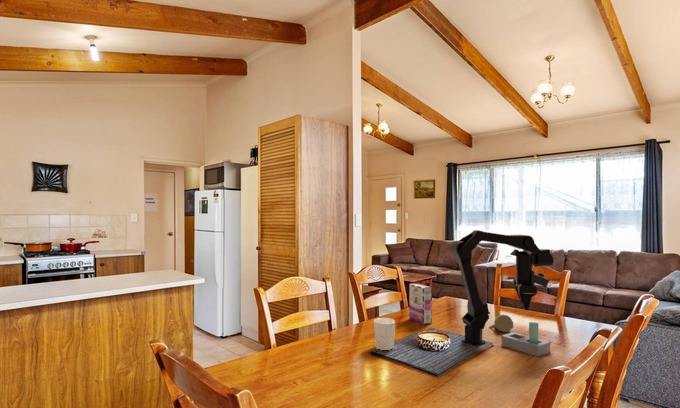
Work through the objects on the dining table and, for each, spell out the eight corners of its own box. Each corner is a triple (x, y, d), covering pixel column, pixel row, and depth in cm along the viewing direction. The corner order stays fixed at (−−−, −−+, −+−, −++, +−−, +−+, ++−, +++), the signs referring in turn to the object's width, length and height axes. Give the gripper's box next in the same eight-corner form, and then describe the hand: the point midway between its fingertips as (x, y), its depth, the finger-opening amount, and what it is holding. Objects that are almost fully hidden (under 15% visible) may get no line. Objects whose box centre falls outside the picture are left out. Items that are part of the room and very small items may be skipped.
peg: (535, 353, 137) (535, 324, 137) (527, 350, 140) (527, 322, 140) (540, 351, 139) (540, 323, 139) (532, 349, 141) (531, 321, 141)
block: (537, 356, 134) (537, 346, 134) (501, 345, 146) (501, 335, 146) (550, 351, 138) (550, 342, 138) (513, 340, 150) (513, 331, 150)
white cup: (394, 352, 139) (394, 324, 139) (372, 350, 140) (372, 323, 141) (395, 344, 147) (395, 318, 147) (375, 343, 148) (375, 317, 148)
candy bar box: (432, 323, 174) (432, 287, 174) (423, 325, 172) (423, 288, 172) (417, 317, 184) (417, 282, 184) (408, 318, 182) (408, 283, 182)
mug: (505, 326, 170) (513, 309, 165) (507, 342, 161) (516, 325, 157) (488, 321, 171) (495, 304, 166) (489, 337, 163) (497, 320, 158)
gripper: (552, 271, 139) (553, 315, 139) (542, 264, 157) (542, 303, 157) (518, 270, 142) (519, 312, 142) (512, 263, 160) (513, 301, 160)
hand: (524, 307), depth 150 cm, fingers open, 9 cm apart
